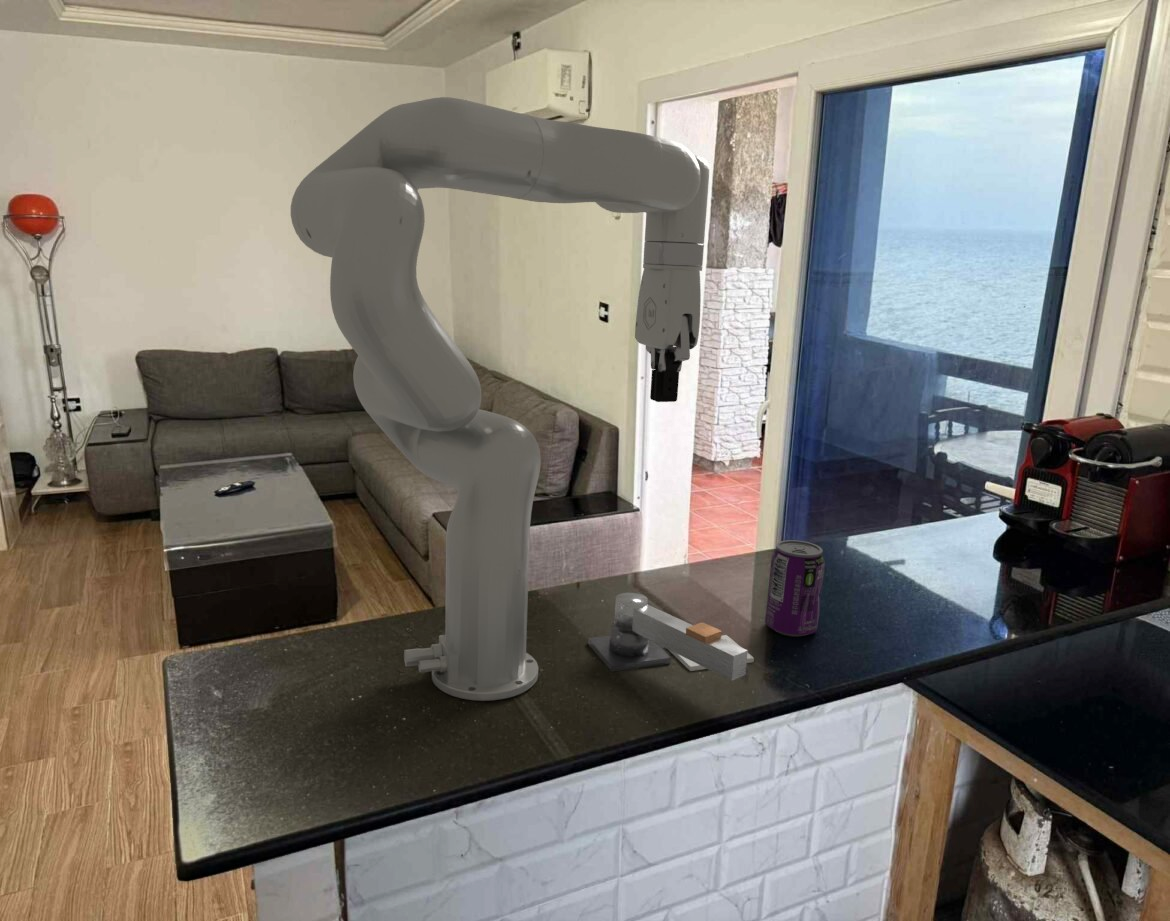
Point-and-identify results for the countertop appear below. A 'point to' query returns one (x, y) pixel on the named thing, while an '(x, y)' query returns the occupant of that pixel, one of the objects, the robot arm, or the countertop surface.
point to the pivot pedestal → (627, 650)
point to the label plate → (694, 666)
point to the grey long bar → (680, 636)
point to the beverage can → (795, 588)
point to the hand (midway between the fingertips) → (663, 400)
